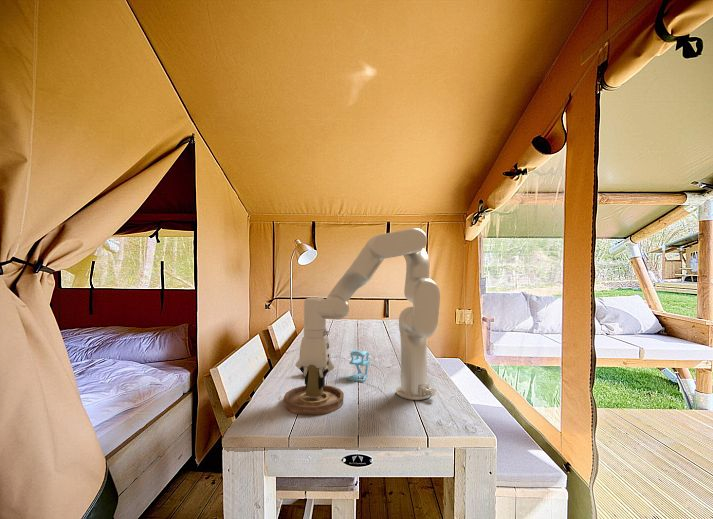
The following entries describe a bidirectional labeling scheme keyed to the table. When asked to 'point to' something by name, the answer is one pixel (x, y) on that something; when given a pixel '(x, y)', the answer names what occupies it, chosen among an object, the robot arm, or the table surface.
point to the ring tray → (313, 401)
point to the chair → (359, 362)
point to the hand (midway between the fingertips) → (314, 386)
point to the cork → (313, 382)
